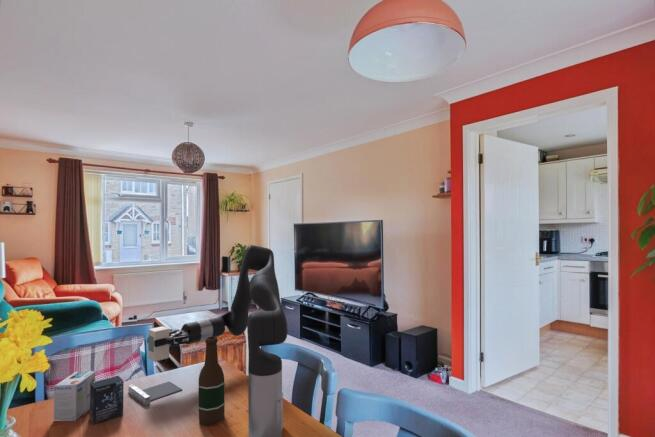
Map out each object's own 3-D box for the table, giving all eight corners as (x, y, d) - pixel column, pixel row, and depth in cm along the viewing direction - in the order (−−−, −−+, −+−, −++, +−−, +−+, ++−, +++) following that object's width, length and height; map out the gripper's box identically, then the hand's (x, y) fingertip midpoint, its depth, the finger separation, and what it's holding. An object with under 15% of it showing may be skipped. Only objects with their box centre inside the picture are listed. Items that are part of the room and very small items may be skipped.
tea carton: (169, 357, 129) (169, 328, 129) (153, 361, 125) (153, 331, 125) (162, 354, 132) (162, 326, 132) (147, 358, 128) (147, 329, 128)
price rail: (134, 391, 129) (134, 383, 129) (151, 403, 120) (151, 396, 120) (128, 393, 127) (128, 385, 128) (145, 405, 118) (145, 398, 118)
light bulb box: (74, 405, 119) (74, 371, 119) (95, 404, 120) (96, 370, 120) (52, 422, 109) (52, 385, 109) (76, 421, 109) (76, 384, 109)
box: (93, 424, 107) (94, 387, 107) (89, 417, 111) (89, 382, 111) (123, 415, 112) (124, 380, 113) (118, 408, 117) (118, 374, 117)
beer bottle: (203, 412, 114) (203, 333, 114) (228, 412, 113) (228, 334, 114) (193, 426, 106) (193, 341, 106) (220, 426, 106) (220, 341, 106)
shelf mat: (169, 382, 136) (169, 381, 136) (182, 390, 129) (182, 389, 129) (134, 393, 127) (134, 392, 127) (146, 402, 120) (146, 401, 120)
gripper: (188, 318, 144) (142, 327, 132) (207, 324, 135) (160, 335, 122) (188, 337, 144) (142, 348, 131) (207, 345, 134) (160, 358, 122)
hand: (151, 342), depth 127 cm, fingers closed on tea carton, 5 cm apart
